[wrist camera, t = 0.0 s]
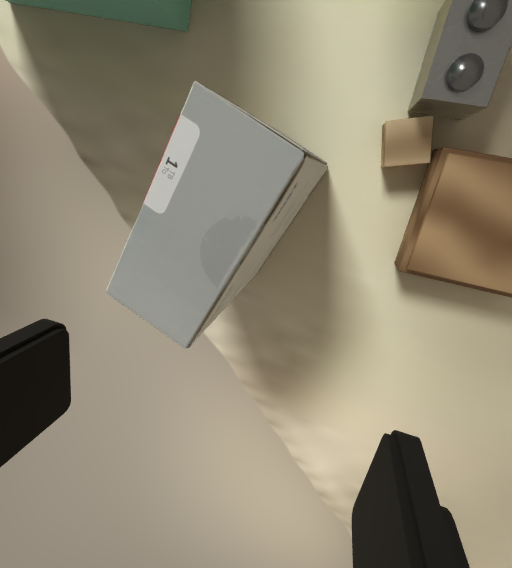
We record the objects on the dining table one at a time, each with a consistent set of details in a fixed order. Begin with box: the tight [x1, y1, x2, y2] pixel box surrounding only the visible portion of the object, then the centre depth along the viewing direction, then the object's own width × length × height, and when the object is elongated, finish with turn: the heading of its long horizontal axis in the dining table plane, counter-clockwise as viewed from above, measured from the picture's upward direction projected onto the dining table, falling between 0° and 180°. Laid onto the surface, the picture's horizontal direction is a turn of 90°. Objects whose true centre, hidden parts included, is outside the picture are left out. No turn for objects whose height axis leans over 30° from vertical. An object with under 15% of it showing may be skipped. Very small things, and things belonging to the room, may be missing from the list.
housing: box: [408, 0, 512, 120], centre depth 27 cm, size 8×5×7 cm, turn 169°
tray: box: [395, 147, 512, 297], centre depth 31 cm, size 12×12×4 cm
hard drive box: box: [106, 81, 328, 348], centre depth 29 cm, size 16×8×20 cm, turn 148°
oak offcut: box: [381, 116, 433, 167], centre depth 32 cm, size 4×4×3 cm
